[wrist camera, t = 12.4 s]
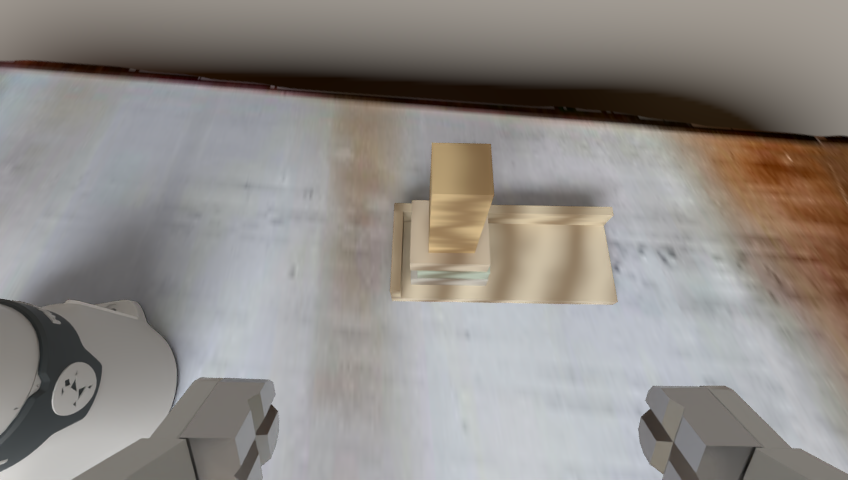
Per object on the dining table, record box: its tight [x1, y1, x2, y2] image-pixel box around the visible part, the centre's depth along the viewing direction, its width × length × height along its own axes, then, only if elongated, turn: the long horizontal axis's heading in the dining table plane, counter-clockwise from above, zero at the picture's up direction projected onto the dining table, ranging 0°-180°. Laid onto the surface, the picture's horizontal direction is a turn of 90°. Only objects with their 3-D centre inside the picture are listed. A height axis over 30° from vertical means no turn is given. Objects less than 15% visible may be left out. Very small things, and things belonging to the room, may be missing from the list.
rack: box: [390, 203, 618, 305], centre depth 44 cm, size 24×10×4 cm, turn 89°
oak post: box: [428, 143, 494, 253], centre depth 34 cm, size 4×4×11 cm
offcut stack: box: [410, 200, 491, 286], centre depth 42 cm, size 8×7×6 cm
